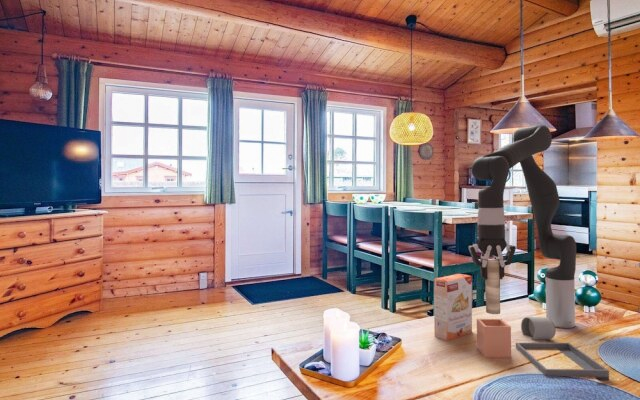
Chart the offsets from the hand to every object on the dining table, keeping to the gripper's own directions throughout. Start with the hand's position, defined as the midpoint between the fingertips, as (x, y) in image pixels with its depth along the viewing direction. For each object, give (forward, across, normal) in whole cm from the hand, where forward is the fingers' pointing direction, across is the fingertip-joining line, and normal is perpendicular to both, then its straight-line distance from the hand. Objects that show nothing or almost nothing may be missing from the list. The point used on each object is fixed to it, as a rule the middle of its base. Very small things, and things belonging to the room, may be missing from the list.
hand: (492, 278), depth 125 cm
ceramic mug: (+24, -19, -15) cm, 34 cm away
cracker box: (+24, +8, -16) cm, 30 cm away
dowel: (+10, 0, 0) cm, 10 cm away
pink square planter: (+23, 0, 0) cm, 23 cm away
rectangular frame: (+24, -16, +6) cm, 29 cm away
